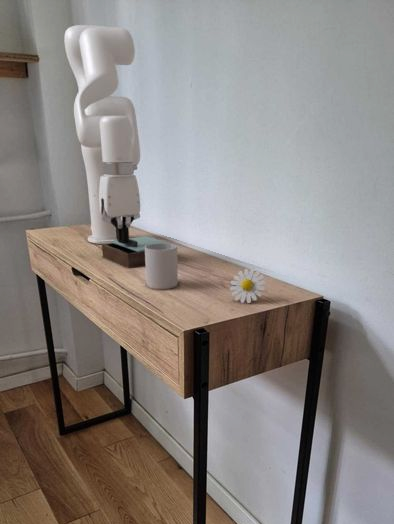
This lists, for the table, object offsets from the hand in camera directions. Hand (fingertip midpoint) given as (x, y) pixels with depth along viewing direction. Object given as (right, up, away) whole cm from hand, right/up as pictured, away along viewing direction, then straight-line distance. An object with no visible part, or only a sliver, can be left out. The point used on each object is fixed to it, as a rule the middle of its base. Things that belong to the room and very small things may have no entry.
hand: (123, 242), depth 130 cm
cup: (+11, -14, -17) cm, 25 cm away
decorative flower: (+29, -17, -24) cm, 41 cm away
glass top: (+5, 0, +4) cm, 6 cm away
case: (+2, -4, +4) cm, 6 cm away
